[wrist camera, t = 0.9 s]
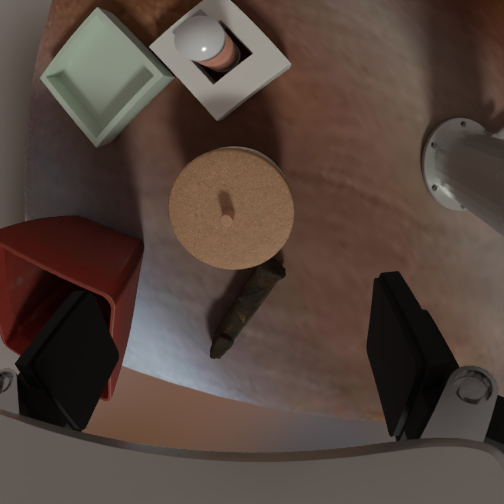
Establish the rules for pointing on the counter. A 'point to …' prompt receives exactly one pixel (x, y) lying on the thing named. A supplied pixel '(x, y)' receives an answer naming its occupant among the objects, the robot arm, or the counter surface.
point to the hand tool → (246, 305)
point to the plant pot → (66, 278)
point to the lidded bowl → (231, 208)
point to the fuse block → (238, 79)
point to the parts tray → (104, 77)
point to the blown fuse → (207, 44)
